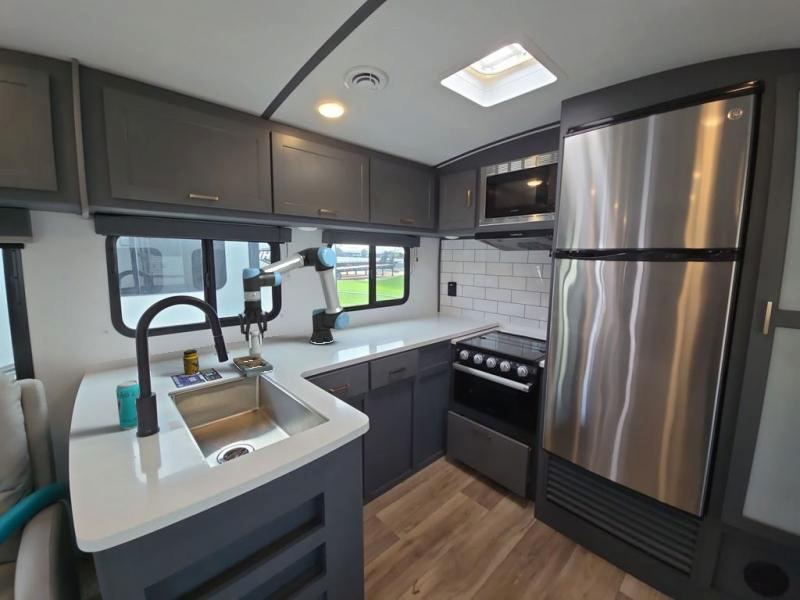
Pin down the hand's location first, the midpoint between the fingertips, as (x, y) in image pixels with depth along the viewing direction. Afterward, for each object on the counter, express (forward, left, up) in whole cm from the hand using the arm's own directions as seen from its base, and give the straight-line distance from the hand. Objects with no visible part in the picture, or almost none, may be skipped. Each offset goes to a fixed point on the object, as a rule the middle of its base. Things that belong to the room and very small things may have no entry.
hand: (255, 346), depth 158 cm
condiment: (+12, -28, -13) cm, 33 cm away
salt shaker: (0, 0, -5) cm, 5 cm away
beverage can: (+56, -6, -13) cm, 58 cm away
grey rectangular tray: (-4, -5, -13) cm, 14 cm away
